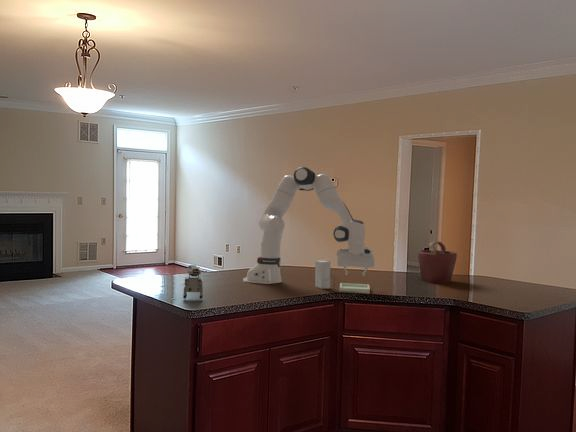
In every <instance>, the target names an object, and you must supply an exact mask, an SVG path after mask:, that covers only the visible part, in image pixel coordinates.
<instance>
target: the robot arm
mask: <svg viewBox="0 0 576 432" xmlns="http://www.w3.org/2000/svg"><path fill="white" fill-rule="evenodd" d="M298 190H299V191H306V192H309V191H313V190H314V191H315V193H316V196H317V198H318V201H319V202H320V204H321V205H322V206H323V207H325V208H326V209H329V210H331V211H333V212H334V213H336V214H337V215H338V217H339V218H340V220H341V222H342V224H340V225H336V226H335V227H334V229H333V231H332V232H333V233H332V235H333V238H334V240H335V241H336V242H338V243H348V244H347V245H348V246H347V248H346V249H345V248H339V249H338V250H337V251H336V257H337V261H336V265H337V266H338V267H343V270H344V271H345V276H346V275H349V271H348V270H347V267H355V268H364V271H362V273H361V274H362V276H366V272H367V270H368V268H374V267H375V257H374V255H373V249H371V248H369V247H366V246H365V245H366V244H365V237H366V227H365V226H366V225H365V223H364V222H363V221H362V220H360V219H354V218H353V216H352V214H351V213H350V212H351V211H350V210H349V208H348V207H347V205H346V204H345V202H344V201H343V199H342V198H341V196H340V194H339V193H338V191H337V188H336V187H335V184H334V183H333V181H332V179H331V178H330V177H329V175H328V174H325V173H320V174H318V175H317V174H316V173H315V172H314V171H313V170H311V169H310V168H309V167H307V166H300V167H297V168H296V169H295V170H294V173H293V175H290V174H287V175H284V176H283V177H282V178H281V180H280V182H279V184H278V185H277V186H276V189H275V190H274V193H273V196H272V198H271V201H270V202H269V204H268V206H267V207H266V209H265V210H264V211H263V213H262V215H261V217H260V218H259V220H258V224H259V228H260V229H261V231H263V236H262V241H261V244H260V256H258V257H257V258H256V264H255V265H253V266H252V267H250V268H249V269H248V271H247V272H246V273H247V274H246V277H243V278H242V282H244V283H253V284H263V285H269V284H270V285H271V284H278V283H279V284H280V283H282V282H283V281H282V277H281V275H282V274H281V261H282V260H281V242H282V237H283V232H284V229H285V221H284V219H283V217H284V215H285V214H286V213H287V211H288V210H289V208H290V206H291V204H292V201H293V200H294V197H295V195H296V193H297V191H298Z"/></svg>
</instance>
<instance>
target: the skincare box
mask: <svg viewBox="0 0 576 432" xmlns="http://www.w3.org/2000/svg"><path fill="white" fill-rule="evenodd" d="M314 263H315V266H314V267H315V281H314V282H315V285H314V286H315V287H316V288H318V289H328V290H329V289H331V261H328V260H315V261H314Z"/></svg>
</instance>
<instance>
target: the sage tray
mask: <svg viewBox="0 0 576 432" xmlns="http://www.w3.org/2000/svg"><path fill="white" fill-rule="evenodd" d="M338 290H339V293H349V294H350V293H351V294H352V293H354V294H368V295H369V294H371V288H370V284H368V283H367V284H365V283H347V282H346V283H345V282H340V283H339V289H338Z"/></svg>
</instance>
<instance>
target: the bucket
mask: <svg viewBox="0 0 576 432" xmlns="http://www.w3.org/2000/svg"><path fill="white" fill-rule="evenodd" d="M436 244H438V246H439V248H440V250H437V249H436V247H435V245H436ZM428 246H429V248H430V249H421V250H419V251H418V254H417V256H418V264H419V270H420V278H421V281H422V282H425V283H429V284H440V285H441V284H442V285H444V284H450V283H451V281H452V277H453V272H454V270H455V265H456V261H457V259H458V258H457V257H458V255H457V254H458V253H457V252H453V251H448V250H447V249H446V246H445V244H444V243H443V242H442V241H436V240H434V241H431V242H430V243H429V244H428Z"/></svg>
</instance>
